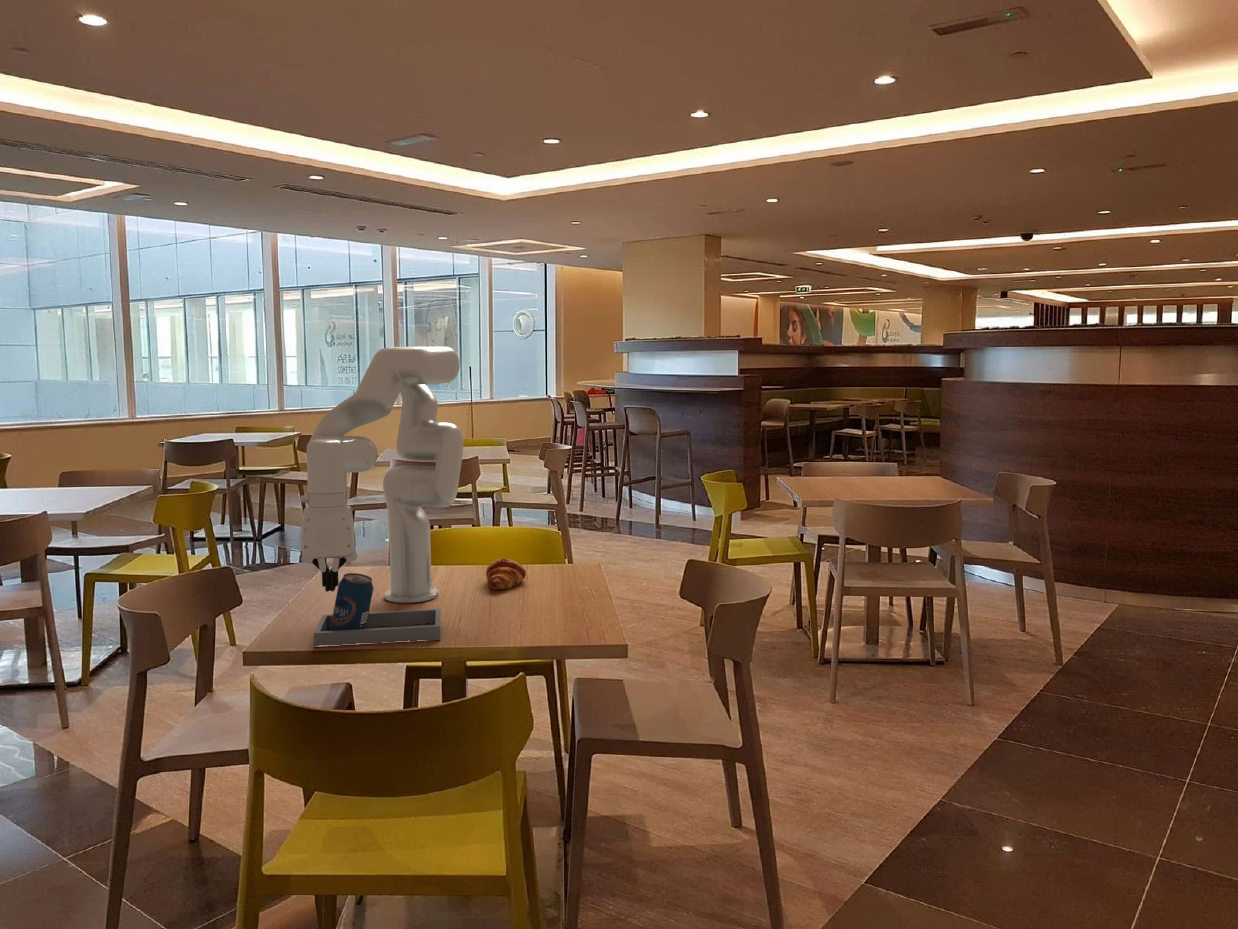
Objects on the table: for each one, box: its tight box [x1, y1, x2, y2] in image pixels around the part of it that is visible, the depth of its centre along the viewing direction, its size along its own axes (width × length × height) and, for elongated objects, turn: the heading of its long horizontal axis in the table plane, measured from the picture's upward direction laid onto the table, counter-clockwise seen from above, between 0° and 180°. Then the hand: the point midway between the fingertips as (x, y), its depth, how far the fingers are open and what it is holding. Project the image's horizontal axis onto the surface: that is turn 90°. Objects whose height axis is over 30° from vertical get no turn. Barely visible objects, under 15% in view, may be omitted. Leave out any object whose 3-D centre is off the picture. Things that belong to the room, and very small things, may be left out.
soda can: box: [331, 572, 374, 631], centre depth 183 cm, size 7×7×12 cm
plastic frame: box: [313, 608, 442, 647], centre depth 185 cm, size 13×24×3 cm, turn 101°
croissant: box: [485, 558, 527, 590], centre depth 227 cm, size 21×10×8 cm, turn 174°
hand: (330, 589), depth 182 cm, fingers closed
